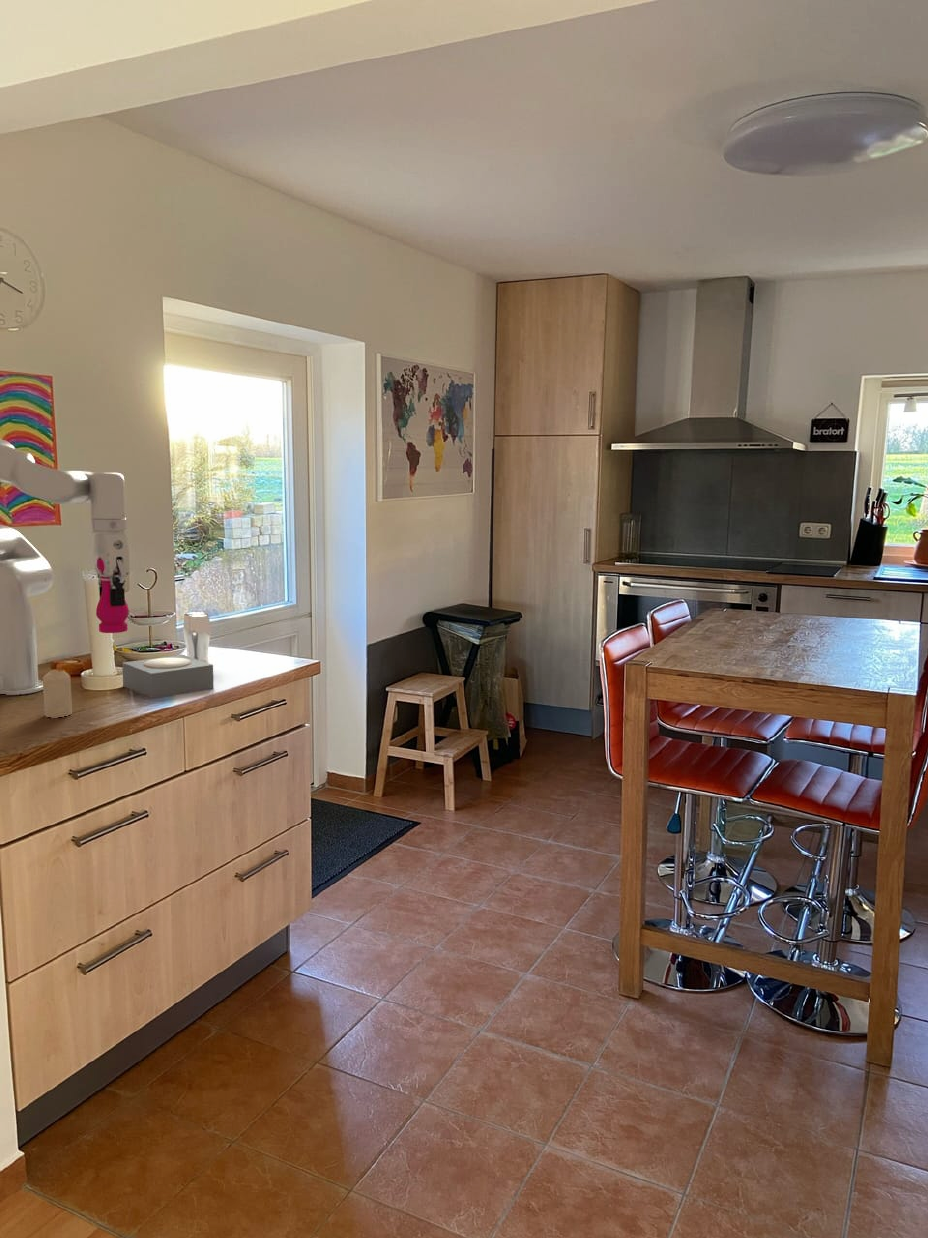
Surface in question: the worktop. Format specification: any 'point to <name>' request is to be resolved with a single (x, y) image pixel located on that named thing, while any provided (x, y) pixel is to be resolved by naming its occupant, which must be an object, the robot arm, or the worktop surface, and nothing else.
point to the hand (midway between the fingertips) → (112, 603)
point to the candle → (57, 694)
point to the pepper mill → (110, 607)
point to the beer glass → (197, 635)
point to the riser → (167, 676)
